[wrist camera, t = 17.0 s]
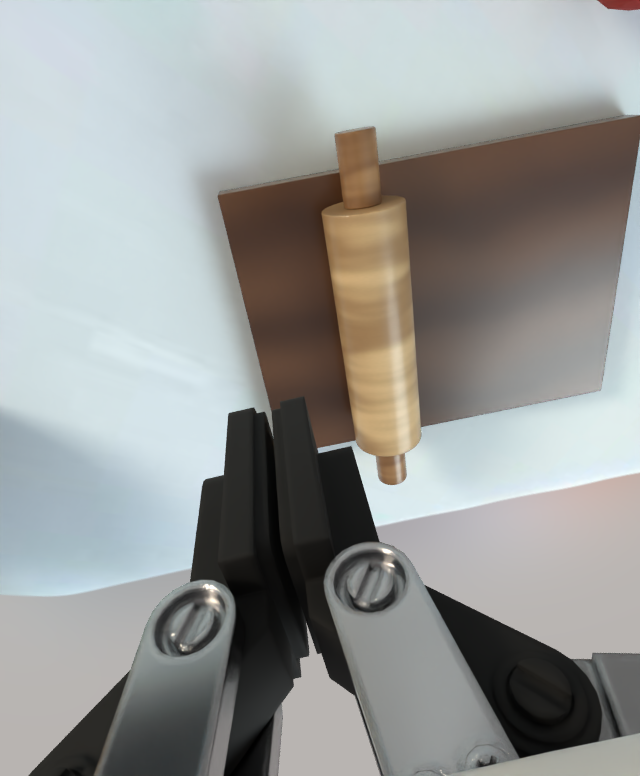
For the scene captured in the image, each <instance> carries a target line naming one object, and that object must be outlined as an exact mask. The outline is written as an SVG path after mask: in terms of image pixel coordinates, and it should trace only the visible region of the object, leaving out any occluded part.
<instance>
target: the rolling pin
mask: <svg viewBox="0 0 640 776" xmlns="http://www.w3.org/2000/svg"><path fill="white" fill-rule="evenodd" d="M335 143H336V151H337V158H338V166H339V174H340V182H341V190H342V197H343V202H341V203H337V204H334V205H332V206H329V207H327V208H325V209H324V210H323V211H322V213H321V214H322V220H323V227H324V234H325V240H326V247H327V253H328V260H329V267H330V273H331V280H332V286H333V293H334V300H335V306H336V313H337V319H338V326H339V333H340V339H341V346H342V352H343V359H344V366H345V372H346V379H347V385H348V392H349V399H350V405H351V412H352V418H353V425H354V432H355V438H356V443H357V445H358V446H359V447H360V448H361V449H362V450H363V451H365V452H366V453H369V454H372V455H375V456H376V462H377V470H378V477H379V479H380V481H381V482H383V483H384V484H388V485H396V484H399V483H401V482H403V481H404V480H405V478H406V476H407V473H406V462H405V453H406V452H408V451H410V450H411V449H413V448H414V447H415V446H416V445H417V444H418V443H419V441H420V439H421V422H420V407H419V392H418V377H417V362H416V347H415V332H414V317H413V301H412V286H411V271H410V256H409V241H408V226H407V211H406V200H405V198H403V197H400V196H382V195H381V184H380V173H379V161H378V150H377V139H376V128H375V127H374V126H372V127H363V128H357V129H352V130H346V131H342V132H338V133H335Z"/></svg>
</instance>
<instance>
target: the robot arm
mask: <svg viewBox="0 0 640 776" xmlns="http://www.w3.org/2000/svg"><path fill="white" fill-rule="evenodd" d="M272 422H273V436H272V432H271V429H270V426H269V422H268V419H267V416H266V413H265V412H261V413H256V411H255V409H254V408H249V409H245V410H241V411H236V412H232V413H229V415H228V426H227V440H226V454H225V467H224V475H222V476H218V477H213V478H209V479H205V481H204V482H203V486H202V493H201V500H200V508H199V516H198V524H197V532H196V540H195V548H194V556H193V563H192V572H191V579H190V583H187V584H185V585H183V586H181V587H179V588H177V589H175V590H173V591H172V592H171V593H170V594H168V595H167V596H166V597H165V598H163V599H162V601H161V602H160V603H159V604H158V605H157V607H156V608H155V609H154V610H153V612H152V614H151V616H150V618H149V620H148V622H147V624H146V627H145V629H144V632H143V635H142V638H141V641H140V644H139V647H138V650H137V652H136V655H135V658H134V661H133V664H132V667H131V670H130V671H129V672H128V673H127V674H126V675H125V676H124V677H123V678H122V679H121V681H119V682H118V683H117V684H116V685H115V686H114V688H113V689H112V690H111V691H110V692H109V693H108V694H107V695H106V696H105V697H104V698H103V699H102V700H101V701H100V702H99V703H98V704H97V705H96V706H95V707H94V708H93V709H92V710H91V711H90V712H89V713H88V714H87V715H86V716H85V718H83V719H82V720H81V722H79V724H78V725H77V726H76V727H75V728H74V729H73V730H72V731H71V732H70V733H69V734H68V735H67V736H66V737H65V738H64V739H63V740H62V741H61V742H60V743H59V744H58V745H57V746H56V747H55V748H54V749H53V751H51V752H50V754H49V755H48V756H47V757H46V758H45V759H44V760H43V761H42V762H41V763H40V764H39V765H38V766H37V767H36V768H35V769H34V770H33V771H32V772H31V773H30V775H29V776H278V769H279V757H280V745H281V732H282V720H283V715H282V704H281V703H282V702H283V700H284V699H285V698H286V696H287V695H288V693H289V692H290V691H291V689H292V688H293V686H294V684H293V679H295V678H299V677H301V669H300V658H303V657H307V656H309V645H308V636H307V626H306V622H307V625H308V628H309V631H310V634H311V637H312V640H313V643H314V646H315V649H316V651H317V654H320V653H322V656H323V659H324V662H325V665H326V668H327V671H328V674H329V677H330V678H331V679H332V680H333V681H335V682H336V683H338V684H339V685H340V686H342V687H343V688H345V689H346V690H347V691H349V692H350V693H352V694H353V695H355V699H356V702H357V705H358V708H359V711H360V714H361V717H362V720H363V723H364V727H365V729H366V733H367V736H368V739H369V742H370V745H371V748H372V751H373V754H374V757H375V760H376V764H377V767H378V770H379V773H380V776H640V654H632V653H631V654H630V653H628V654H627V653H624V654H623V653H593V654H592V659H570V658H568V657H566V656H565V655H563V654H562V653H560V652H559V651H557V650H555V649H553V648H551V647H549V646H547V645H545V644H543V643H541V642H539V641H537V640H535V639H533V638H531V637H529V636H527V635H525V634H523V633H521V632H519V631H517V630H515V629H513V628H511V627H509V626H507V625H504V624H502V623H501V622H499V621H497V620H494V619H492V618H490V617H488V616H486V615H484V614H482V613H480V612H478V611H476V610H474V609H472V608H470V607H468V606H466V605H464V604H462V603H460V602H458V601H456V600H454V599H452V598H450V597H448V596H446V595H444V594H442V593H440V592H438V591H436V590H434V589H431V588H429V587H427V586H425V585H424V584H423V582H422V580H421V579H420V577H419V575H418V573H417V572H416V569H415V568H414V566H413V564H412V563H411V561H410V560H409V559H408V558H407V556H406V555H405V554H404V553H403V552H402V551H400V550H398V549H397V548H395V547H394V546H391V545H388V544H385V543H382V542H379V539H378V536H377V532H376V528H375V525H374V522H373V518H372V515H371V511H370V508H369V504H368V501H367V498H366V494H365V491H364V487H363V484H362V480H361V477H360V474H359V470H358V467H357V463H356V460H355V456H354V453H353V450H352V447H351V446H350V447H345V448H341V449H336V450H332V451H328V452H323V453H319V454H318V450H317V446H316V441H315V437H314V433H313V429H312V425H311V421H310V417H309V413H308V409H307V405H306V401H305V397H304V396H302V397H298V398H294V399H289V400H285V401H280V408H279V409H275V410H272ZM273 437H274V439H273Z"/></svg>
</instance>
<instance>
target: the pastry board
mask: <svg viewBox="0 0 640 776" xmlns="http://www.w3.org/2000/svg"><path fill="white" fill-rule="evenodd" d="M639 140H640V115H623V116H618V117H613V118H607V119H602V120H597V121H591V122H586V123H581V124H575V125H570V126H565V127H559V128H554V129H549V130H544V131H538V132H533V133H528V134H522V135H517V136H512V137H506V138H501V139H496V140H491V141H485V142H480V143H475V144H469V145H464V146H459V147H453V148H448V149H443V150H438V151H432V152H427V153H422V154H416V155H411V156H406V157H400V158H395V159H390V160H384V161H379V173H380V184H381V195H382V196H400V197H403V198H405V200H406V211H407V226H408V241H409V256H410V271H411V286H412V301H413V317H414V332H415V347H416V362H417V377H418V392H419V407H420V422H421V427H423V426H428V425H433V424H438V423H443V422H448V421H453V420H458V419H463V418H467V417H472V416H477V415H482V414H487V413H492V412H497V411H502V410H507V409H512V408H517V407H522V406H527V405H531V404H536V403H541V402H546V401H551V400H556V399H561V398H566V397H571V396H576V395H581V394H586V393H591V392H595V391H600V390H601V386H602V380H603V373H604V367H605V360H606V354H607V348H608V341H609V335H610V328H611V322H612V315H613V309H614V302H615V296H616V289H617V283H618V276H619V270H620V263H621V257H622V250H623V244H624V237H625V231H626V224H627V218H628V212H629V205H630V199H631V192H632V186H633V179H634V173H635V166H636V160H637V153H638V147H639ZM218 200H219V203H220V207H221V211H222V215H223V219H224V223H225V227H226V231H227V235H228V239H229V243H230V247H231V251H232V255H233V259H234V263H235V267H236V271H237V275H238V279H239V283H240V287H241V291H242V295H243V299H244V303H245V307H246V311H247V315H248V319H249V323H250V327H251V331H252V335H253V339H254V343H255V347H256V351H257V355H258V359H259V363H260V367H261V371H262V375H263V379H264V383H265V387H266V391H267V395H268V399H269V403H270V407H271V411H272V410H275V409H279V408H280V401H285V400H289V399H294V398H298V397H302V396H304V397H305V401H306V405H307V409H308V413H309V417H310V421H311V425H312V429H313V433H314V437H315V441H316V446H317V448H320V447H325V446H330V445H335V444H339V443H344V442H349V441H354V440H356V438H355V432H354V425H353V418H352V412H351V405H350V399H349V392H348V385H347V379H346V372H345V366H344V359H343V352H342V346H341V339H340V333H339V326H338V319H337V313H336V306H335V300H334V293H333V286H332V280H331V273H330V267H329V260H328V253H327V247H326V240H325V234H324V227H323V220H322V214H321V213H322V211H323V210H324V209H325V208H327V207H329V206H332V205H334V204H337V203H341V202H343V197H342V190H341V182H340V174H339V169H337V170H331V171H326V172H321V173H316V174H310V175H305V176H300V177H294V178H289V179H284V180H278V181H273V182H268V183H263V184H257V185H252V186H247V187H241V188H236V189H231V190H225V191H220V192H219V194H218Z"/></svg>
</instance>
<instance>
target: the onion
mask: <svg viewBox="0 0 640 776" xmlns="http://www.w3.org/2000/svg"><path fill="white" fill-rule="evenodd" d="M598 1H599V2H600V3H601V4H603V5H604V6H605V7H606V8H608V9H618V10H628V11H629V10H637V9H640V0H598Z"/></svg>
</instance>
